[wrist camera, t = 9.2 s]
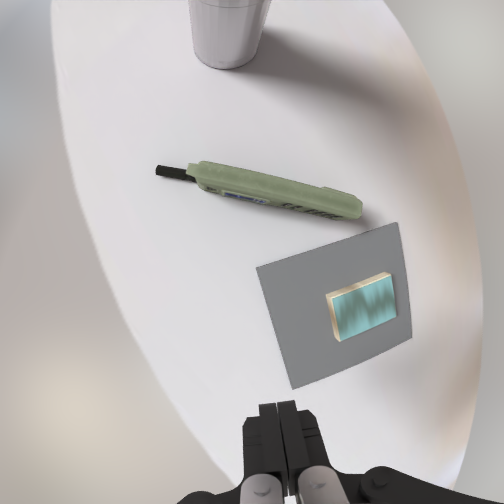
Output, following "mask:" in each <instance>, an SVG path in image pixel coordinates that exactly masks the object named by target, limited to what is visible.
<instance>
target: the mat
mask: <svg viewBox="0 0 504 504" xmlns="http://www.w3.org/2000/svg"><path fill="white" fill-rule="evenodd" d="M256 270H257V274H258V277H259V280H260V284H261V287H262V290H263V294H264V297H265V300H266V304H267V307H268V310H269V314H270V317H271V320H272V324H273V327H274V330H275V334H276V337H277V340H278V344H279V347H280V350H281V354H282V357H283V360H284V364H285V367H286V370H287V374H288V377H289V380H290V384H291V387H292V389H296V388H299V387H302V386H305V385H307V384H310V383H313V382H315V381H318V380H321V379H323V378H326V377H328V376H331V375H333V374H336V373H338V372H341V371H343V370H345V369H348V368H350V367H352V366H355V365H357V364H359V363H362V362H364V361H366V360H368V359H370V358H372V357H375V356H377V355H379V354H381V353H383V352H385V351H387V350H389V349H391V348H393V347H395V346H397V345H399V344H401V343H403V342H405V341H407V340H408V339H410V338H412V331H411V317H410V305H409V296H408V287H407V279H406V271H405V265H404V258H403V252H402V246H401V240H400V235H399V230H398V225H397V222H394V223H391V224H388V225H385V226H383V227H380V228H377V229H374V230H371V231H368V232H365V233H362V234H359V235H356V236H353V237H350V238H347V239H344V240H341V241H337V242H334V243H331V244H328V245H325V246H322V247H319V248H316V249H313V250H310V251H307V252H304V253H301V254H298V255H294V256H291V257H288V258H285V259H282V260H279V261H276V262H273V263H269V264H266V265H263V266H260V267H257V268H256ZM383 272H387V273H390V274H391V277H392V284H393V291H394V299H395V307H396V317H394V318H392V319H390V320H388V321H386V322H384V323H382V324H379V325H377V326H375V327H373V328H371V329H368V330H366V331H364V332H362V333H359V334H357V335H355V336H352V337H350V338H347V339H345V340H343V341H340V342H339V341H338V340H337V339H336V338H335V335H334V330H333V326H332V321H331V316H330V312H329V307H328V303H327V298H326V294H329V293H331V292H334V291H337V290H339V289H342V288H345V287H347V286H350V285H353V284H355V283H358V282H360V281H363V280H365V279H368V278H370V277H373V276H375V275H378V274H380V273H383Z"/></svg>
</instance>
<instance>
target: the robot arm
mask: <svg viewBox="0 0 504 504" xmlns="http://www.w3.org/2000/svg"><path fill="white" fill-rule="evenodd" d="M188 1H189V11H190V20H191V29H192V38H193V47H194V51H195V54H196V56H197V57H198V59H199V60H200V61H201V62H203V63H204V64H206V65H208V66H211V67H213V68H218V69H231V68H236V67H240V66H242V65H244V64H246V63H248V62H249V61H250V60H251V59H252V58H253V57H254V56H255V54H256V51H257V48H258V45H259V41H260V38H261V34H262V31H263V27H264V24H265V20H266V17H267V13H268V10H269V6H270V3H271V0H188ZM277 411H278V413H277ZM259 414H260V416H257V417H247V419H246V421H245V423H244V425H243V426H242V427H243V458H244V477H243V480H242V482H241V483H240V485H238V486H237V487H236V488H235V489H233V490H231V491H228V492H224V493H221V494H217V495H214V494H212V493H209V492H206V491H197V492H193V493H191V494H188V495H187V496H186V497H184V498H183V499H182V500H181V501H180V502H178V503H177V504H285V500H284V497H286V496H288V490H289V496H293V495H295V497H296V502H297V504H504V503H499V502H494V501H489V500H485V499H481V498H477V497H472V496H469V495H465V494H462V493H459V492H455V491H452V490H449V489H446V488H442V487H439V486H436V485H434V484H431V483H428V482H425V481H422V480H420V479H417V478H414V477H412V476H409V475H407V474H404V473H402V472H399V471H397V470H394V469H392V468H389V467H386V466H378V467H374V468H372V469H370V470H368V471H367V472H366V473H365V474H345V473H341V472H339V471H337V470H335V469H334V468H333V467H332V466H331V464H330V462H329V459H328V456H327V452H326V449H325V446H324V443H323V439H322V436H321V433H320V430H319V427H318V423H317V420H316V417H315V416H314V415H313V414H312V413H311V412H310V411H309V410H302V411H297V408H296V404H295V401H294V400H291V401H284V402H277V407H276V403H269V404H259Z"/></svg>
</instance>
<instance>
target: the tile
mask: <svg viewBox="0 0 504 504" xmlns="http://www.w3.org/2000/svg"><path fill="white" fill-rule="evenodd" d="M326 298H327V303H328V307H329V312H330V316H331V321H332V326H333V330H334V335H335V338H336V339H337V340H338V341H339V342H340V341H343V340H345V339H347V338H350V337H352V336H355V335H357V334H359V333H362V332H364V331H366V330H368V329H371V328H373V327H375V326H377V325H379V324H382V323H384V322H386V321H388V320H390V319H392V318H394V317H396V307H395V299H394V291H393V284H392V277H391V274H390V273H387V272H383V273H380V274H378V275H375V276H373V277H370V278H368V279H365V280H363V281H360V282H358V283H355V284H353V285H350V286H347V287H345V288H342V289H339V290H337V291H334V292H331V293H329V294H326Z"/></svg>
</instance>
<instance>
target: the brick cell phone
mask: <svg viewBox="0 0 504 504" xmlns="http://www.w3.org/2000/svg"><path fill="white" fill-rule="evenodd" d="M156 175H160V176H166V177H171V178H177V179H183V180H185V179H186V180H191V181H193V182H197V184H198V186H199V188H200V189H202V190H204V191H209V192H213V193H218V194H221V195H222V196H226V197H231V198H236V199H240V200H245V201H250V202H254V203H259V204H263V205H265V204H269V205H275V206H279V207H284V208H288V209H293V210H297V211H301V212H305V213H309V214H314V215H318V216H322V217H326V218H330V219H334V220H348V219H358V218H359V217H361V212H362V205H363V204H362V202H361V201H360V200H359V199H357V197H356V196H354V195H351V194H348V193H344V192H341V191H338V190H334V189H331V188H327V187H322V188H318V187H315V186H311V185H307V184H304V183H300V182H296V181H292V180H288V179H284V178H280V177H276V176H272V175H268V174H264V173H259V172H255V171H251V170H246V169H242V168H237V167H232V166H227V165H223V164H218V163H213V162H207V161H201V162H199V163H198V164H191V163H189V164H188V167H187V170H184V169H179V168H173V167H167V166H161V165H158V166H157V168H156Z"/></svg>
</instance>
